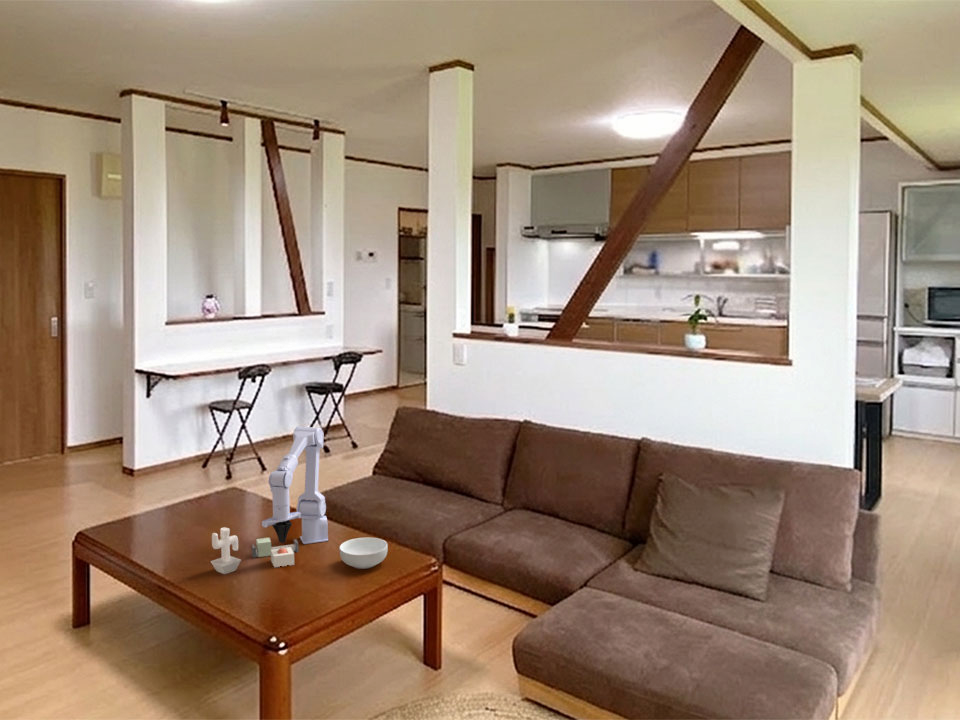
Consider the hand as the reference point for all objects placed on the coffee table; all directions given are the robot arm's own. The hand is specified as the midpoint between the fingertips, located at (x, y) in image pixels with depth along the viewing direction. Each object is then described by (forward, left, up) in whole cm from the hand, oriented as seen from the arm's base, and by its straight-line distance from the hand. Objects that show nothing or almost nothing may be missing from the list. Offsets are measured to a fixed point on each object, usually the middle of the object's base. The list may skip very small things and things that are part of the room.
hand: (282, 542), depth 273 cm
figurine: (+19, +1, -8) cm, 21 cm away
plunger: (0, 0, -7) cm, 7 cm away
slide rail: (+1, -10, -7) cm, 13 cm away
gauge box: (0, 0, -7) cm, 7 cm away
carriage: (+5, -10, -7) cm, 14 cm away
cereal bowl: (-26, +13, -8) cm, 30 cm away
